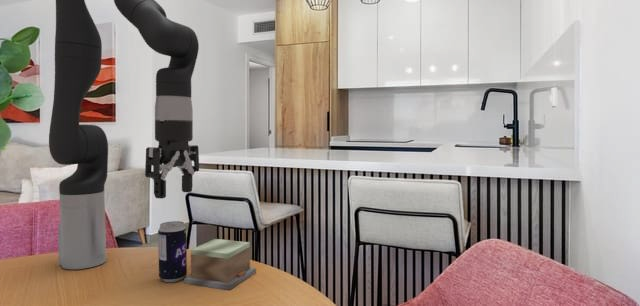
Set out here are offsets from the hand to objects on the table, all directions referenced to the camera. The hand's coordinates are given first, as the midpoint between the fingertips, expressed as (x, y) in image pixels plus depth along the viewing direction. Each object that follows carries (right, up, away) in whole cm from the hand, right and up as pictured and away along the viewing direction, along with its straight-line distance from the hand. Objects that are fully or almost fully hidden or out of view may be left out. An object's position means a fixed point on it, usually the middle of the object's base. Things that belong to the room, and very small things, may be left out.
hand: (174, 194), depth 87 cm
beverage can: (-1, -18, +1) cm, 18 cm away
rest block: (+10, -18, +2) cm, 21 cm away
